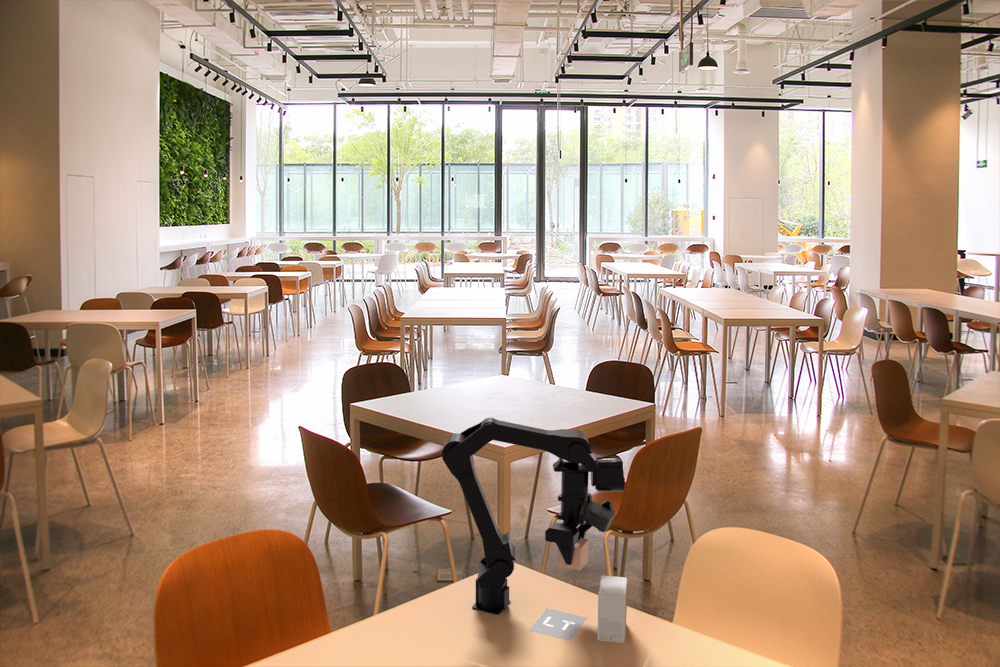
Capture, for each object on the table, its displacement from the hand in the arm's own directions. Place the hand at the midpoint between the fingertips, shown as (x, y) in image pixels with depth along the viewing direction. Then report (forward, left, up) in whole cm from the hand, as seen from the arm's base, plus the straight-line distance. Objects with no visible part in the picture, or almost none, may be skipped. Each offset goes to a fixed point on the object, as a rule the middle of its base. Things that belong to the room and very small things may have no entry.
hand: (572, 559), depth 167 cm
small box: (+11, -6, -11) cm, 17 cm away
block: (0, 0, -1) cm, 1 cm away
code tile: (0, -8, -11) cm, 14 cm away
